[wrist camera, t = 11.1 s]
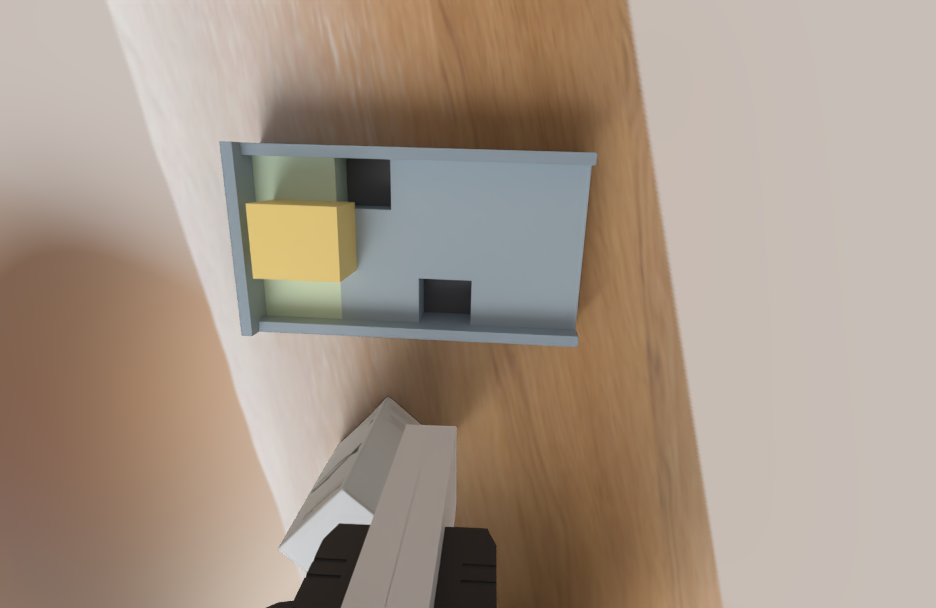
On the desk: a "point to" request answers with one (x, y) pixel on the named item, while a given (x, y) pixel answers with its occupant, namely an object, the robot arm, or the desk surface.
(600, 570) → the desk surface
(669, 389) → the desk surface
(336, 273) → the block
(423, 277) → the tray
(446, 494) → the robot arm
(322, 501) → the supplement box
